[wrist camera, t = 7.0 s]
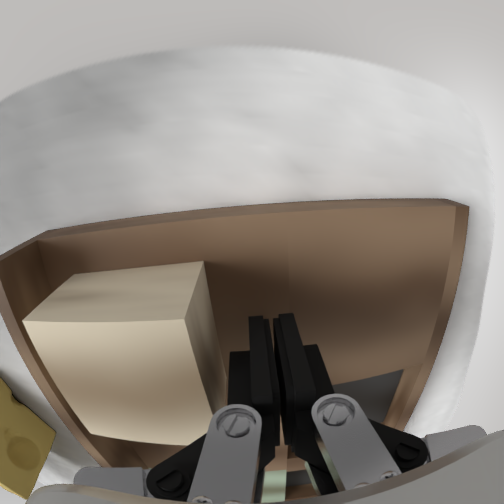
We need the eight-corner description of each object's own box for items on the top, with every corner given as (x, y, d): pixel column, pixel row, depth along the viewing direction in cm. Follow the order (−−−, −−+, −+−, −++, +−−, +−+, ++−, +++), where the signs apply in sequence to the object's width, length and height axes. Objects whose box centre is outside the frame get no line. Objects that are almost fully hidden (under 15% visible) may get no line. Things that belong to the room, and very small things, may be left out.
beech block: (226, 377, 12) (223, 445, 9) (115, 377, 12) (90, 433, 9) (203, 260, 10) (184, 319, 7) (74, 274, 10) (22, 320, 7)
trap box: (360, 476, 22) (370, 509, 17) (175, 491, 22) (171, 525, 17) (445, 198, 12) (513, 222, 7) (46, 230, 12) (-17, 265, 7)
